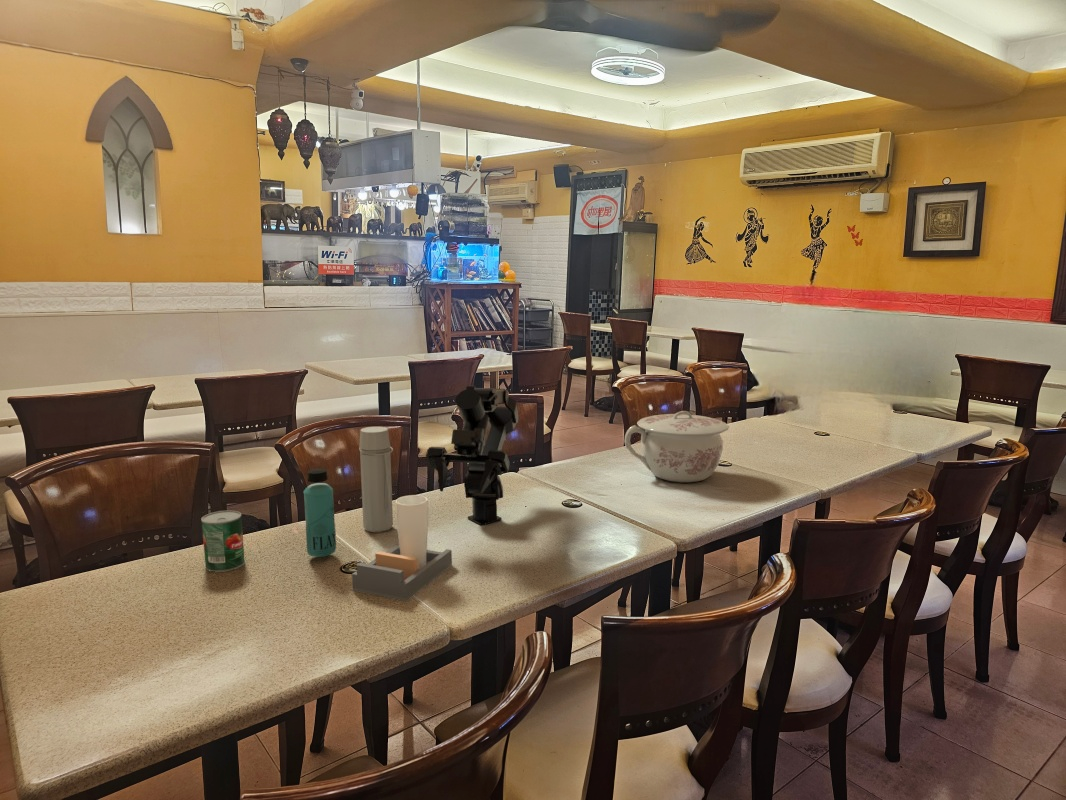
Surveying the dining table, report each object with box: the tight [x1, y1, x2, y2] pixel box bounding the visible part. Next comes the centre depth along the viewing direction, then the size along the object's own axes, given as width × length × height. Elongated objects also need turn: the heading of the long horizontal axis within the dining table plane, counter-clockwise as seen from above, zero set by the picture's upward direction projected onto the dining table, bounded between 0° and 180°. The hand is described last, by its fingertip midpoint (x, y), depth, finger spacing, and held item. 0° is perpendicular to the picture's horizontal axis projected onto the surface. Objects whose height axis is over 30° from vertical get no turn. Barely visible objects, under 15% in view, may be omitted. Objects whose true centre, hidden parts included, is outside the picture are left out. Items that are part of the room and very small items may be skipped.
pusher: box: [374, 551, 418, 580], centre depth 144 cm, size 1×9×5 cm, turn 68°
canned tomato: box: [200, 510, 246, 573], centre depth 153 cm, size 8×8×11 cm
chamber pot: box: [624, 410, 730, 484], centre depth 217 cm, size 28×28×21 cm
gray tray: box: [351, 543, 453, 602], centre depth 147 cm, size 18×12×6 cm
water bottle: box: [358, 426, 394, 533], centre depth 172 cm, size 9×8×25 cm
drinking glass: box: [395, 494, 430, 570], centre depth 149 cm, size 7×7×15 cm
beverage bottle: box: [303, 468, 337, 558], centre depth 156 cm, size 6×7×20 cm
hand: (460, 492), depth 160 cm, fingers open, 9 cm apart
